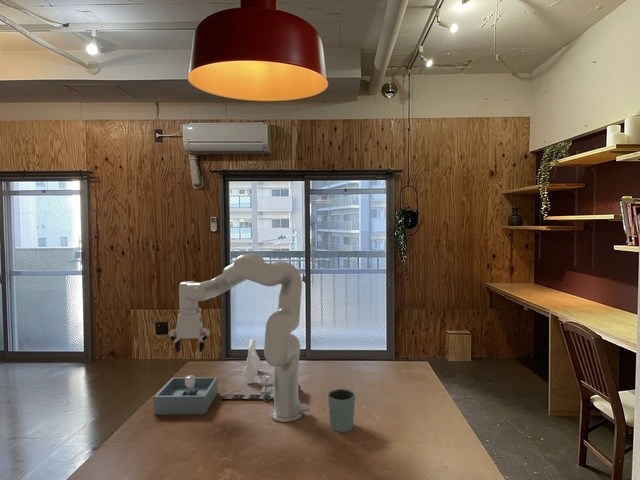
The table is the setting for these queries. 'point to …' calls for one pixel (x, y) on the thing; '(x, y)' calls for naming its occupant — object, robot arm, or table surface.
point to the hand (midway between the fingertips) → (189, 351)
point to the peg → (190, 385)
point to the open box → (177, 403)
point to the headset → (251, 363)
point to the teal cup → (341, 409)
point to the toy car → (268, 388)
